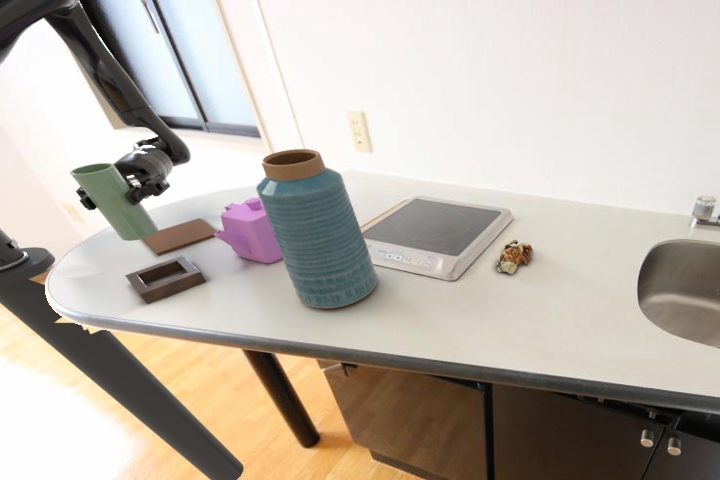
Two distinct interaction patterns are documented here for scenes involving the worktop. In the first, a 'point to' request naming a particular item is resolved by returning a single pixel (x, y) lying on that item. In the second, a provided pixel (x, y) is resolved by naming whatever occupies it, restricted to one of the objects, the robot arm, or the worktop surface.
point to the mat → (179, 236)
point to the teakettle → (249, 232)
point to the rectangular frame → (168, 286)
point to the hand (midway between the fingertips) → (109, 202)
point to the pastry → (513, 256)
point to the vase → (316, 229)
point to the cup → (114, 200)
